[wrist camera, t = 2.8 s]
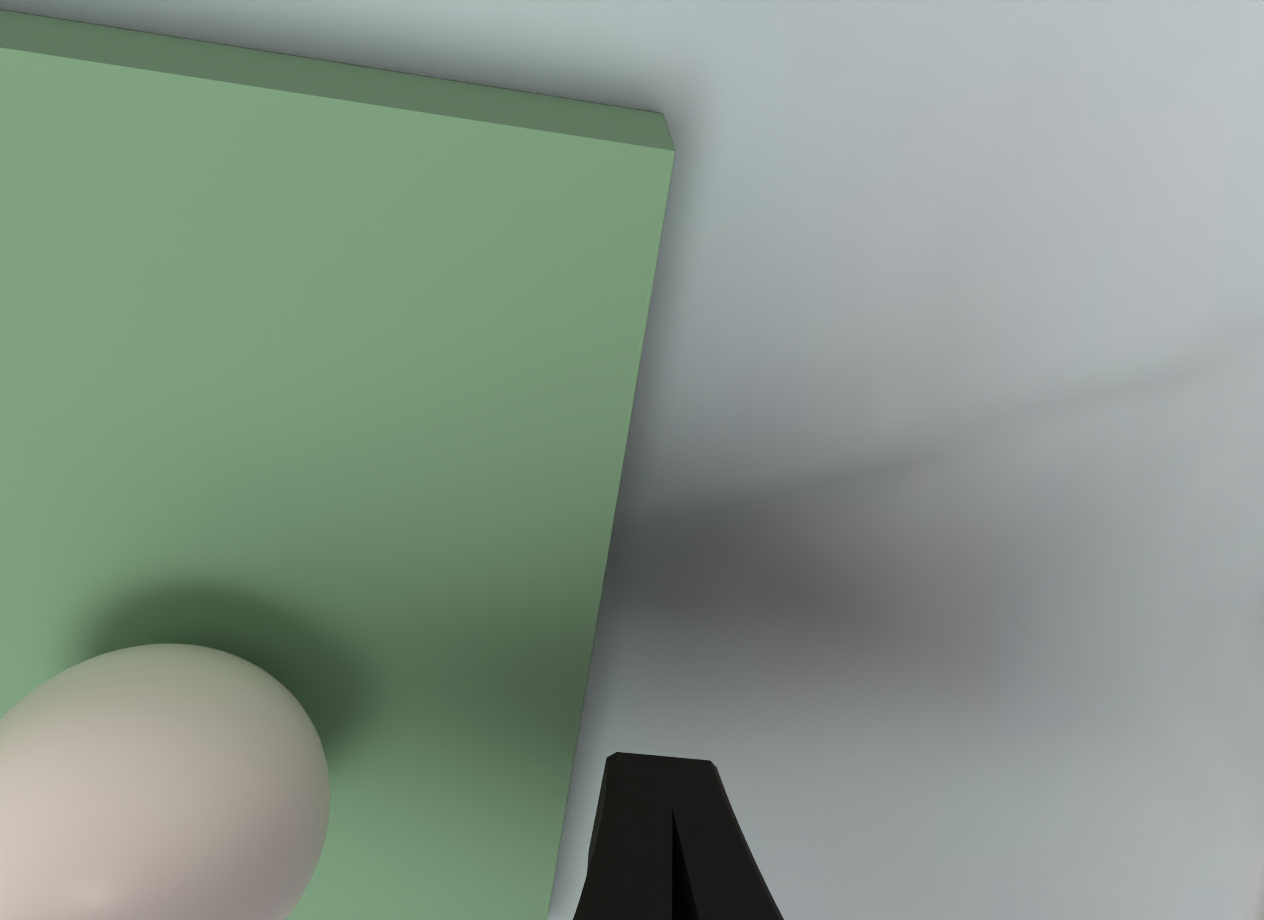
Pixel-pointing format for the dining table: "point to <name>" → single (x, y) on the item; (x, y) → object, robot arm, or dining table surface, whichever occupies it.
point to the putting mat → (327, 418)
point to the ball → (159, 791)
